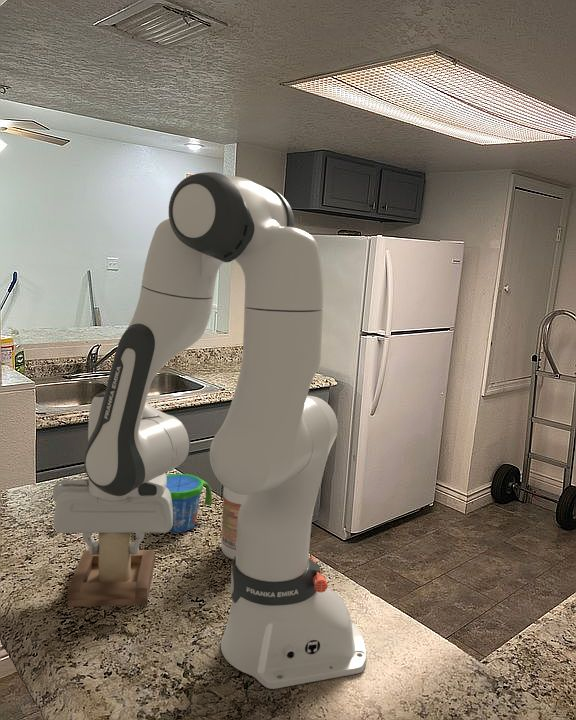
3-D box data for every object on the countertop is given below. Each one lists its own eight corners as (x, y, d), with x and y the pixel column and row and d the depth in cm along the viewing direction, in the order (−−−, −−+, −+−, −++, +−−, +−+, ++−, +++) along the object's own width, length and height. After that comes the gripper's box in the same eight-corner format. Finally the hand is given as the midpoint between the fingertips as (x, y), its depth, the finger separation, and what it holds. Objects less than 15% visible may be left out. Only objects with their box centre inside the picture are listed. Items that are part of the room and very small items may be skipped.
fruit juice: (225, 537, 127) (230, 410, 122) (269, 541, 126) (276, 414, 121) (217, 560, 117) (222, 423, 112) (264, 564, 117) (272, 427, 112)
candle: (122, 587, 104) (122, 534, 102) (92, 583, 105) (92, 530, 103) (135, 571, 109) (136, 520, 108) (107, 567, 110) (107, 516, 108)
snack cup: (149, 543, 122) (150, 497, 121) (135, 522, 131) (136, 478, 130) (219, 530, 130) (221, 486, 128) (202, 510, 139) (203, 469, 137)
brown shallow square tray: (154, 565, 114) (154, 549, 114) (147, 605, 101) (147, 588, 101) (84, 566, 112) (84, 550, 112) (67, 606, 100) (67, 589, 99)
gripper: (47, 486, 99) (48, 562, 101) (172, 487, 102) (170, 561, 104) (57, 472, 105) (58, 544, 108) (175, 473, 108) (173, 544, 110)
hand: (114, 553), depth 106 cm, fingers closed on candle, 5 cm apart
